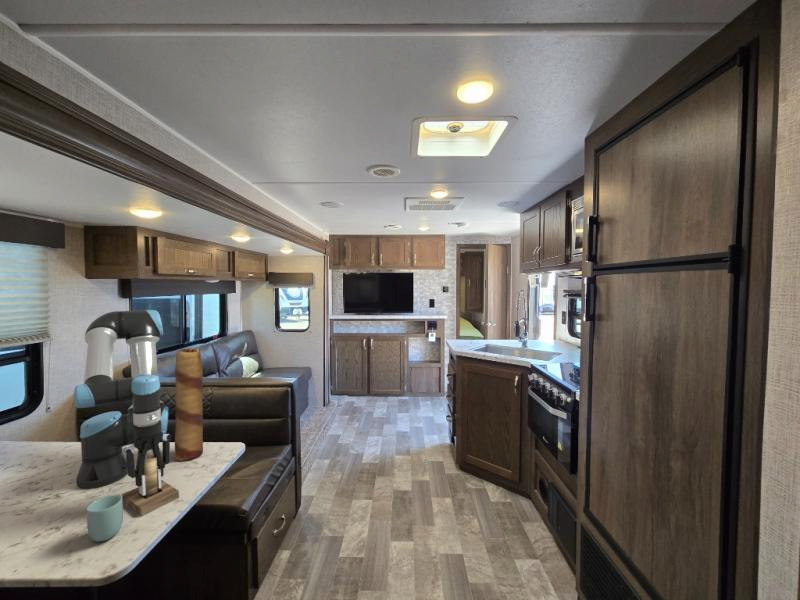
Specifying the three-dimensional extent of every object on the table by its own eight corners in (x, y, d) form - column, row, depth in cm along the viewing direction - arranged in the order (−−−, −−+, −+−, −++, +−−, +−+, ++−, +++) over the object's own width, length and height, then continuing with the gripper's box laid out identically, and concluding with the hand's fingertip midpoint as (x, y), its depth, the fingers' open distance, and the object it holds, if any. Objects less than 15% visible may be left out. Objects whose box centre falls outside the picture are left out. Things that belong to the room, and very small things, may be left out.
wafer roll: (203, 447, 154) (202, 346, 151) (203, 458, 144) (202, 351, 142) (175, 452, 148) (174, 348, 146) (174, 464, 139) (172, 353, 137)
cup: (102, 527, 104) (100, 495, 103) (129, 525, 105) (128, 493, 104) (80, 547, 96) (78, 512, 96) (110, 545, 97) (108, 511, 96)
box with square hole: (122, 501, 116) (122, 494, 116) (159, 484, 125) (158, 478, 125) (141, 516, 109) (141, 508, 109) (178, 497, 118) (178, 490, 118)
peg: (141, 494, 116) (139, 460, 116) (154, 488, 120) (153, 454, 119) (146, 498, 114) (145, 463, 113) (160, 492, 118) (158, 458, 117)
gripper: (121, 434, 106) (125, 508, 108) (180, 416, 121) (183, 481, 122) (111, 429, 110) (115, 500, 112) (169, 412, 125) (172, 475, 126)
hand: (150, 490), depth 117 cm, fingers closed on peg, 4 cm apart
